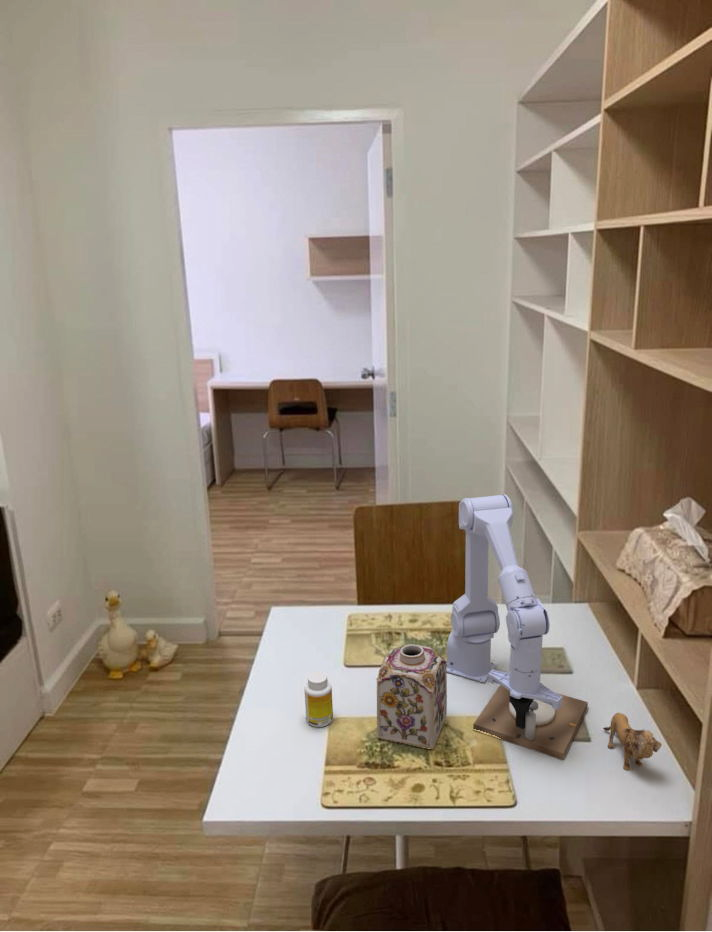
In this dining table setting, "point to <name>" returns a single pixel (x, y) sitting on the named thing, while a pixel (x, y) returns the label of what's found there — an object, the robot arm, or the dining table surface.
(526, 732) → the dial
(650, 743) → the lion figurine
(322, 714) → the supplement bottle
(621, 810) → the dining table surface
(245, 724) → the dining table surface
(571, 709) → the board
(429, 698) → the decorative jar
